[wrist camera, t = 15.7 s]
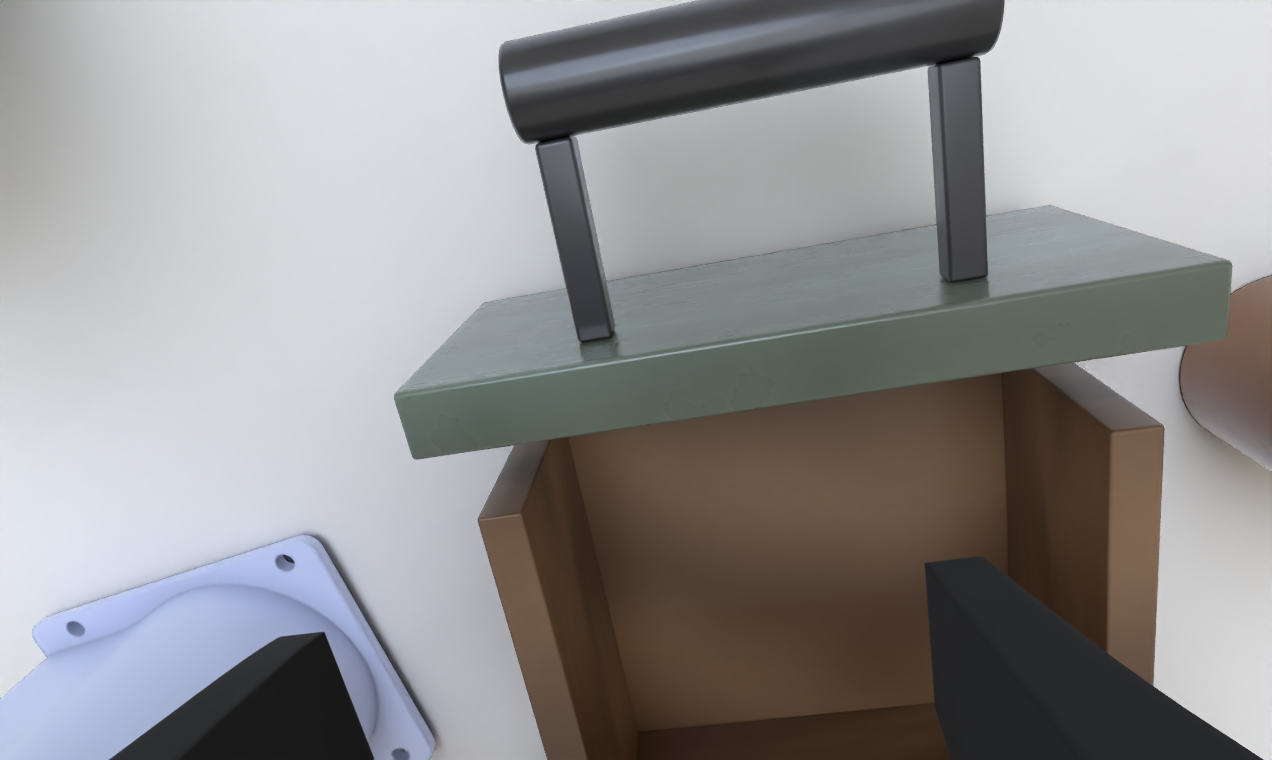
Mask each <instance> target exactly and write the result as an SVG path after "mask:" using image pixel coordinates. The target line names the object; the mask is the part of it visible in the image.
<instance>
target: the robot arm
mask: <svg viewBox="0 0 1272 760" xmlns="http://www.w3.org/2000/svg"><path fill="white" fill-rule="evenodd" d="M283 555H287V556H290V557H291V558H292V559H293V560H294V563H291V562H288V561H287V560H286V559H285V558H284V556H283ZM925 576H926V590H927V603H928V617H929V631H930V645H931V658H932V672H933V686H934V700H935V709H936V712H937V715H938V719H939V722H940V725H941V728H942V732H943V735H944V738H945V741H946V745H947V748H948V751H949V754H950V757H951V760H1263V759H1262V758H1260V757H1259V756H1257V755H1255V754H1254V753H1252V752H1251V751H1249V750H1248V749H1246V748H1245V747H1243V746H1242V745H1240V744H1239V743H1237V742H1236V741H1234V740H1233V739H1231V738H1230V737H1228V736H1226V735H1225V734H1223V733H1222V732H1220V731H1219V730H1217V729H1216V728H1214V727H1213V726H1211V725H1210V724H1208V723H1207V722H1205V721H1204V720H1202V719H1200V718H1199V717H1197V716H1196V715H1194V714H1193V713H1191V712H1190V711H1188V710H1187V709H1185V708H1184V707H1182V706H1181V705H1179V704H1178V703H1177V702H1175V701H1174V700H1172V699H1171V698H1169V697H1168V696H1166V695H1165V694H1164V693H1162V692H1161V691H1159V690H1158V689H1156V688H1155V687H1154V686H1152V685H1151V684H1149V683H1148V682H1147V681H1145V680H1144V679H1143V678H1141V677H1140V676H1138V675H1137V674H1136V673H1134V672H1133V671H1131V670H1130V669H1129V668H1127V667H1126V666H1125V665H1123V664H1122V663H1120V662H1119V661H1118V660H1116V659H1115V658H1114V657H1112V656H1111V655H1109V654H1108V653H1107V652H1105V651H1104V650H1103V649H1101V648H1100V647H1099V646H1097V645H1096V644H1095V643H1093V642H1092V641H1091V640H1089V639H1088V638H1087V637H1085V636H1084V635H1083V634H1081V633H1080V632H1079V631H1077V630H1076V629H1075V628H1073V627H1072V626H1071V625H1070V624H1068V623H1067V622H1066V621H1064V620H1063V619H1062V618H1060V617H1059V616H1058V615H1057V614H1055V613H1054V612H1053V611H1051V610H1050V609H1049V608H1048V607H1046V606H1045V605H1044V604H1042V603H1041V602H1040V601H1039V600H1037V599H1036V598H1035V597H1034V596H1032V595H1031V594H1030V593H1028V592H1027V591H1026V590H1025V589H1023V588H1022V587H1021V586H1020V585H1018V584H1017V583H1016V582H1014V581H1013V580H1012V579H1011V578H1009V577H1008V576H1007V575H1006V574H1004V573H1003V572H1002V571H1000V570H999V569H998V568H996V567H995V566H994V565H993V564H991V563H990V562H989V561H987V560H986V559H985V558H983V557H982V556H979V557H970V558H962V559H953V560H944V561H935V562H927V563H925ZM32 636H33V638H34V640H35V642H36V643H37V645H38V646H39V647H40V649H41V650H42V651H43V653H44V654H45V655H46V657H47V658H46V659H45V660H44V661H43V662H41V663H40V664H39V665H38V666H37V667H36V668H35V669H34V670H32V671H31V672H30V673H29V674H28V675H27V676H26V677H24V678H23V679H22V680H21V681H20V682H19V683H18V684H16V685H15V686H14V687H13V688H12V689H11V690H10V691H8V692H7V693H6V694H5V695H4V696H3V697H2V698H0V760H429V759H430V758H431V757H432V755H433V752H434V750H435V746H436V742H435V739H434V737H433V735H432V733H431V732H430V730H429V728H428V726H427V725H426V723H425V721H424V720H423V718H422V716H421V714H420V713H419V711H418V709H417V707H416V706H415V704H414V702H413V701H412V699H411V697H410V695H409V694H408V692H407V690H406V688H405V687H404V685H403V683H402V682H401V680H400V678H399V676H398V675H397V673H396V671H395V670H394V668H393V666H392V664H391V663H390V661H389V659H388V657H387V656H386V654H385V652H384V651H383V649H382V647H381V645H380V644H379V642H378V640H377V638H376V637H375V635H374V633H373V632H372V630H371V628H370V626H369V625H368V623H367V621H366V619H365V618H364V616H363V614H362V613H361V611H360V609H359V607H358V606H357V604H356V602H355V600H354V599H353V597H352V595H351V594H350V592H349V590H348V588H347V587H346V585H345V583H344V581H343V580H342V578H341V576H340V575H339V573H338V571H337V569H336V568H335V566H334V564H333V563H332V561H331V559H330V557H329V556H328V554H327V552H326V550H325V549H324V547H323V545H322V544H321V543H320V542H319V541H318V540H317V539H315V538H313V537H312V536H307V535H300V536H296V537H292V538H289V539H286V540H283V541H280V542H277V543H274V544H271V545H268V546H264V547H261V548H258V549H255V550H252V551H249V552H246V553H243V554H240V555H236V556H233V557H230V558H227V559H224V560H221V561H218V562H215V563H212V564H209V565H205V566H202V567H199V568H196V569H193V570H190V571H187V572H184V573H181V574H177V575H174V576H171V577H168V578H165V579H162V580H159V581H156V582H153V583H149V584H146V585H143V586H140V587H137V588H134V589H131V590H128V591H125V592H121V593H118V594H115V595H112V596H109V597H106V598H103V599H100V600H97V601H93V602H90V603H87V604H84V605H81V606H78V607H75V608H72V609H69V610H66V611H62V612H59V613H56V614H53V615H50V616H47V617H45V618H44V619H42V620H41V621H40V622H38V623H37V624H36V625H35V626H34V628H33V630H32ZM399 748H402V749H404V750H406V751H403V750H400V749H399Z"/></svg>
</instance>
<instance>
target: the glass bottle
mask: <svg viewBox="0 0 1272 760" xmlns="http://www.w3.org/2000/svg"><path fill="white" fill-rule="evenodd" d="M1180 383H1181V391H1182V395H1183V399H1184V401H1185V404H1186V406H1187V408H1188V410H1189V412H1190V413H1191V415H1192V416H1193V418H1194V419H1195V420H1196V421H1197V422H1198V423H1199V424H1200V425H1201V426H1202V427H1204V428H1205V429H1206V430H1207V431H1209V432H1210V433H1212V434H1214V435H1215V436H1217V437H1218V438H1220V439H1221V440H1223V441H1224V442H1226V443H1227V444H1229V445H1230V446H1232V447H1234V448H1235V449H1237V450H1238V451H1240V452H1241V453H1243V454H1244V455H1246V456H1247V457H1249V458H1250V459H1252V460H1254V461H1255V462H1257V463H1258V464H1260V465H1261V466H1263V467H1264V468H1266V469H1267V470H1269V471H1270V472H1272V276H1268V277H1265V278H1262V279H1260V280H1257V281H1254V282H1252V283H1250V284H1248V285H1246V286H1244V287H1242V288H1240V289H1239V290H1237V291H1235V292H1234V293H1232V294H1231V295H1230V305H1229V319H1228V334H1227V337H1226V339H1224V340H1221V341H1214V342H1207V343H1200V344H1194V345H1187V347H1186V350H1185V353H1184V356H1183V360H1182V364H1181V373H1180Z"/></svg>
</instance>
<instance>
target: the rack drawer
mask: <svg viewBox="0 0 1272 760" xmlns="http://www.w3.org/2000/svg"><path fill="white" fill-rule="evenodd" d="M1004 1H1005V0H697V1H692V2H688V3H683V4H678V5H674V6H669V7H665V8H660V9H655V10H651V11H646V12H641V13H637V14H632V15H627V16H623V17H618V18H613V19H609V20H604V21H599V22H595V23H590V24H585V25H581V26H576V27H572V28H567V29H562V30H558V31H553V32H548V33H544V34H539V35H534V36H530V37H525V38H520V39H516V40H511V41H506V42H504V43H503V44H502V45H501V46H500V49H499V74H500V81H501V86H502V91H503V96H504V100H505V104H506V107H507V111H508V114H509V117H510V120H511V122H512V125H513V127H514V129H515V131H516V133H517V135H518V137H519V138H520V140H521V141H522V142H523V143H525V144H534V143H538V144H537V145H536V147H535V150H536V155H537V159H538V164H539V168H540V173H541V177H542V182H543V186H544V191H545V195H546V199H547V204H548V208H549V213H550V217H551V222H552V226H553V231H554V235H555V240H556V244H557V249H558V253H559V258H560V262H561V267H562V271H563V276H564V280H565V285H566V289H560V290H554V291H549V292H543V293H537V294H531V295H525V296H520V297H514V298H508V299H502V300H496V301H491V302H485V303H483V304H482V305H481V306H480V307H479V308H478V309H477V310H476V311H475V312H474V313H473V314H472V315H471V316H470V317H469V318H468V319H467V320H466V321H465V322H464V323H463V324H462V326H461V327H460V328H459V329H458V330H457V331H456V332H455V333H454V334H453V335H452V336H451V337H450V338H449V339H448V340H447V341H446V342H445V343H444V344H443V345H442V346H441V347H440V348H439V349H438V350H437V351H436V352H435V353H434V354H433V355H432V356H431V357H430V358H429V359H428V360H427V361H426V362H425V363H424V364H423V365H422V366H421V367H420V368H419V369H418V370H417V371H416V372H415V373H414V374H413V376H412V377H411V378H410V379H409V380H408V381H407V382H406V383H405V384H404V385H403V386H402V387H401V388H400V389H399V390H398V391H397V392H396V393H395V394H394V400H395V403H396V407H397V410H398V413H399V416H400V419H401V422H402V426H403V429H404V432H405V435H406V438H407V442H408V445H409V448H410V451H411V454H412V457H413V458H414V459H424V458H430V457H437V456H444V455H451V454H457V453H464V452H471V451H478V450H484V449H491V448H498V447H505V446H511V445H514V447H513V449H512V451H511V453H510V455H509V457H508V459H507V461H506V463H505V465H504V467H503V469H502V471H501V473H500V475H499V477H498V479H497V481H496V483H495V485H494V487H493V489H492V491H491V493H490V495H489V497H488V499H487V501H486V503H485V505H484V508H483V510H482V512H481V514H480V516H479V518H478V524H479V527H480V531H481V534H482V538H483V541H484V544H485V548H486V551H487V555H488V558H489V562H490V565H491V568H492V572H493V575H494V579H495V582H496V586H497V589H498V592H499V596H500V599H501V603H502V606H503V609H504V613H505V616H506V620H507V623H508V627H509V630H510V633H511V637H512V640H513V644H514V647H515V651H516V654H517V657H518V661H519V664H520V668H521V671H522V675H523V678H524V681H525V685H526V688H527V692H528V695H529V699H530V702H531V705H532V709H533V712H534V716H535V719H536V723H537V726H538V729H539V733H540V736H541V740H542V743H543V746H544V750H545V753H546V757H547V760H951V757H950V754H949V751H948V748H947V745H946V741H945V738H944V735H943V732H942V728H941V725H940V722H939V719H938V715H937V712H936V709H935V700H934V686H933V672H932V658H931V645H930V631H929V617H928V603H927V590H926V576H925V563H927V562H935V561H944V560H953V559H962V558H970V557H979V556H982V557H983V558H985V559H986V560H987V561H989V562H990V563H991V564H993V565H994V566H995V567H996V568H998V569H999V570H1000V571H1002V572H1003V573H1004V574H1006V575H1007V576H1008V577H1009V578H1011V579H1012V580H1013V581H1014V582H1016V583H1017V584H1018V585H1020V586H1021V587H1022V588H1023V589H1025V590H1026V591H1027V592H1028V593H1030V594H1031V595H1032V596H1034V597H1035V598H1036V599H1037V600H1039V601H1040V602H1041V603H1042V604H1044V605H1045V606H1046V607H1048V608H1049V609H1050V610H1051V611H1053V612H1054V613H1055V614H1057V615H1058V616H1059V617H1060V618H1062V619H1063V620H1064V621H1066V622H1067V623H1068V624H1070V625H1071V626H1072V627H1073V628H1075V629H1076V630H1077V631H1079V632H1080V633H1081V634H1083V635H1084V636H1085V637H1087V638H1088V639H1089V640H1091V641H1092V642H1093V643H1095V644H1096V645H1097V646H1099V647H1100V648H1101V649H1103V650H1104V651H1105V652H1107V653H1108V654H1109V655H1111V656H1112V657H1114V658H1115V659H1116V660H1118V661H1119V662H1120V663H1122V664H1123V665H1125V666H1126V667H1127V668H1129V669H1130V670H1131V671H1133V672H1134V673H1136V674H1137V675H1138V676H1140V677H1141V678H1143V679H1144V680H1145V681H1147V682H1148V683H1149V684H1151V685H1152V686H1153V681H1154V658H1155V635H1156V611H1157V588H1158V565H1159V541H1160V518H1161V495H1162V472H1163V448H1164V426H1163V425H1162V424H1161V423H1159V422H1158V421H1156V420H1155V419H1153V418H1152V417H1151V416H1149V415H1148V414H1146V413H1145V412H1143V411H1142V410H1141V409H1139V408H1138V407H1136V406H1135V405H1133V404H1132V403H1131V402H1129V401H1128V400H1126V399H1125V398H1123V397H1122V396H1121V395H1119V394H1118V393H1116V392H1115V391H1113V390H1112V389H1111V388H1109V387H1108V386H1106V385H1105V384H1103V383H1102V382H1101V381H1099V380H1098V379H1096V378H1095V377H1093V376H1092V375H1091V374H1089V373H1088V372H1086V371H1085V370H1083V369H1082V368H1081V367H1079V366H1078V365H1076V364H1075V363H1073V362H1079V361H1086V360H1092V359H1099V358H1106V357H1113V356H1119V355H1126V354H1133V353H1140V352H1146V351H1153V350H1160V349H1167V348H1173V347H1180V346H1187V345H1194V344H1200V343H1207V342H1214V341H1221V340H1224V339H1226V337H1227V334H1228V319H1229V305H1230V291H1231V276H1232V264H1231V262H1230V261H1229V260H1226V259H1223V258H1219V257H1216V256H1213V255H1210V254H1207V253H1203V252H1200V251H1197V250H1194V249H1190V248H1187V247H1184V246H1181V245H1177V244H1174V243H1171V242H1168V241H1164V240H1161V239H1158V238H1155V237H1152V236H1148V235H1145V234H1142V233H1139V232H1135V231H1132V230H1129V229H1126V228H1122V227H1119V226H1116V225H1113V224H1110V223H1106V222H1103V221H1100V220H1097V219H1093V218H1090V217H1087V216H1084V215H1080V214H1077V213H1074V212H1071V211H1067V210H1064V209H1061V208H1058V207H1055V206H1051V205H1047V206H1041V207H1036V208H1030V209H1024V210H1018V211H1012V212H1007V213H1001V214H995V215H989V216H986V201H985V174H984V147H983V120H982V93H981V66H980V59H979V58H978V57H975V56H980V55H984V54H986V53H988V52H989V51H991V50H992V49H993V47H994V46H995V44H996V42H997V40H998V37H999V34H1000V30H1001V26H1002V21H1003V14H1004ZM970 57H971V58H970ZM930 65H931V66H930ZM925 66H929V68H928V84H929V101H930V118H931V135H932V152H933V169H934V187H935V204H936V221H937V225H931V226H925V227H920V228H914V229H908V230H902V231H896V232H891V233H885V234H879V235H873V236H867V237H862V238H856V239H850V240H844V241H838V242H833V243H827V244H821V245H815V246H809V247H804V248H798V249H792V250H786V251H780V252H775V253H769V254H763V255H757V256H751V257H746V258H740V259H734V260H728V261H722V262H717V263H711V264H705V265H699V266H693V267H688V268H682V269H676V270H670V271H664V272H659V273H653V274H647V275H641V276H635V277H630V278H624V279H618V280H612V281H606V278H605V274H604V269H603V264H602V259H601V254H600V249H599V244H598V239H597V234H596V230H595V225H594V220H593V215H592V210H591V205H590V200H589V195H588V191H587V186H586V181H585V176H584V171H583V166H582V161H581V156H580V151H579V147H578V142H577V139H576V137H574V136H575V135H580V134H585V133H590V132H595V131H600V130H605V129H610V128H615V127H621V126H626V125H631V124H636V123H641V122H646V121H651V120H656V119H661V118H666V117H671V116H676V115H681V114H686V113H692V112H697V111H702V110H707V109H712V108H717V107H722V106H727V105H732V104H737V103H742V102H747V101H752V100H757V99H762V98H768V97H773V96H778V95H783V94H788V93H793V92H798V91H803V90H808V89H813V88H818V87H823V86H828V85H833V84H839V83H844V82H849V81H854V80H859V79H864V78H869V77H874V76H879V75H884V74H889V73H894V72H899V71H904V70H909V69H915V68H920V67H925ZM539 142H540V143H539Z"/></svg>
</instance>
